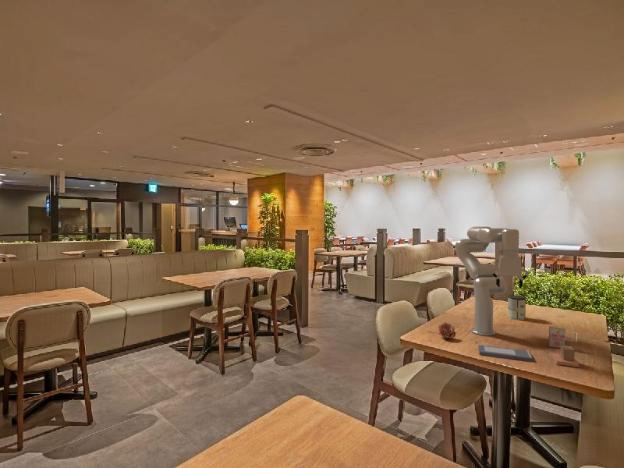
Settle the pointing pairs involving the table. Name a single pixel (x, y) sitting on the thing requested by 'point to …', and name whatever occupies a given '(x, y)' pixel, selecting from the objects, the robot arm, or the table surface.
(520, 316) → the coffee can
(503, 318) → the table surface
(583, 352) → the table surface
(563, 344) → the printed box
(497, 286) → the robot arm
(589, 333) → the table surface
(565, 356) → the stub
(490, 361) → the table surface
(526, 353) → the ticket board
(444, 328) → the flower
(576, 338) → the graded card
